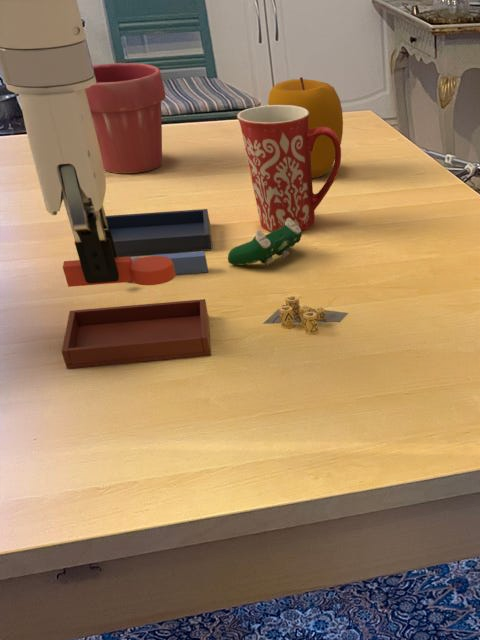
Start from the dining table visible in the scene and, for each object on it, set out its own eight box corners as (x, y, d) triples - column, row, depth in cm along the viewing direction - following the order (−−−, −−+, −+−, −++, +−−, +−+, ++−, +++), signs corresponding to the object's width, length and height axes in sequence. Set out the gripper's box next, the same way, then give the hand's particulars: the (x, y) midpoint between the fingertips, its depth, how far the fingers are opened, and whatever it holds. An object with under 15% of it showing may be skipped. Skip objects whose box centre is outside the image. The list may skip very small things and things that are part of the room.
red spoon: (67, 292, 92) (61, 271, 91) (70, 276, 95) (65, 256, 94) (175, 283, 94) (171, 263, 93) (175, 267, 97) (171, 248, 96)
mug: (246, 235, 123) (229, 121, 114) (260, 212, 130) (245, 103, 121) (342, 237, 123) (332, 123, 114) (351, 214, 130) (342, 105, 121)
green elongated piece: (242, 284, 116) (264, 256, 111) (222, 257, 115) (243, 228, 110) (291, 261, 121) (313, 233, 117) (272, 235, 121) (294, 207, 116)
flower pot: (73, 161, 148) (49, 68, 139) (160, 148, 154) (142, 58, 145) (100, 184, 139) (76, 86, 130) (191, 169, 145) (174, 75, 136)
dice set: (315, 335, 101) (313, 317, 99) (272, 329, 102) (269, 312, 100) (333, 316, 104) (331, 299, 103) (291, 311, 105) (289, 294, 104)
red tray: (66, 369, 94) (61, 351, 93) (74, 327, 102) (69, 310, 100) (210, 355, 97) (207, 337, 96) (208, 315, 104) (205, 298, 103)
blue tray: (95, 258, 117) (91, 243, 116) (100, 231, 124) (96, 216, 123) (212, 249, 119) (209, 234, 118) (209, 223, 127) (207, 208, 125)
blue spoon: (207, 263, 116) (204, 246, 115) (208, 276, 113) (205, 259, 111) (120, 270, 114) (115, 253, 113) (118, 283, 111) (114, 266, 109)
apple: (362, 173, 144) (355, 77, 135) (306, 188, 138) (296, 89, 130) (316, 159, 150) (307, 66, 141) (261, 173, 144) (248, 77, 135)
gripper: (13, 51, 87) (71, 253, 99) (-12, 88, 76) (57, 311, 88) (97, 47, 88) (144, 247, 101) (85, 83, 77) (140, 304, 89)
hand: (103, 275), depth 94 cm, fingers closed on red spoon, 1 cm apart
